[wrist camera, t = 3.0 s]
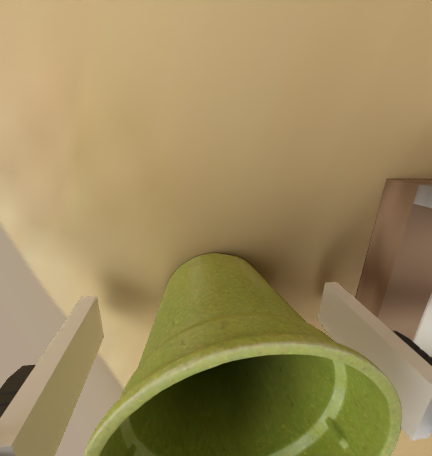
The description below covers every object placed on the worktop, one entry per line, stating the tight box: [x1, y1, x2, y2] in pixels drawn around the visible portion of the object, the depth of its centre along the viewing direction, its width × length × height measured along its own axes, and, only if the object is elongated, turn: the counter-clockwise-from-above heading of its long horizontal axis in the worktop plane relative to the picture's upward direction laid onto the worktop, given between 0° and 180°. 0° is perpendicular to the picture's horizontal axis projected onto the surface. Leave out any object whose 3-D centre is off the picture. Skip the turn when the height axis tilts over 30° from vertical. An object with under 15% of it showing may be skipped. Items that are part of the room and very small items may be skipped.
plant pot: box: [84, 253, 402, 456], centre depth 11 cm, size 9×9×9 cm
